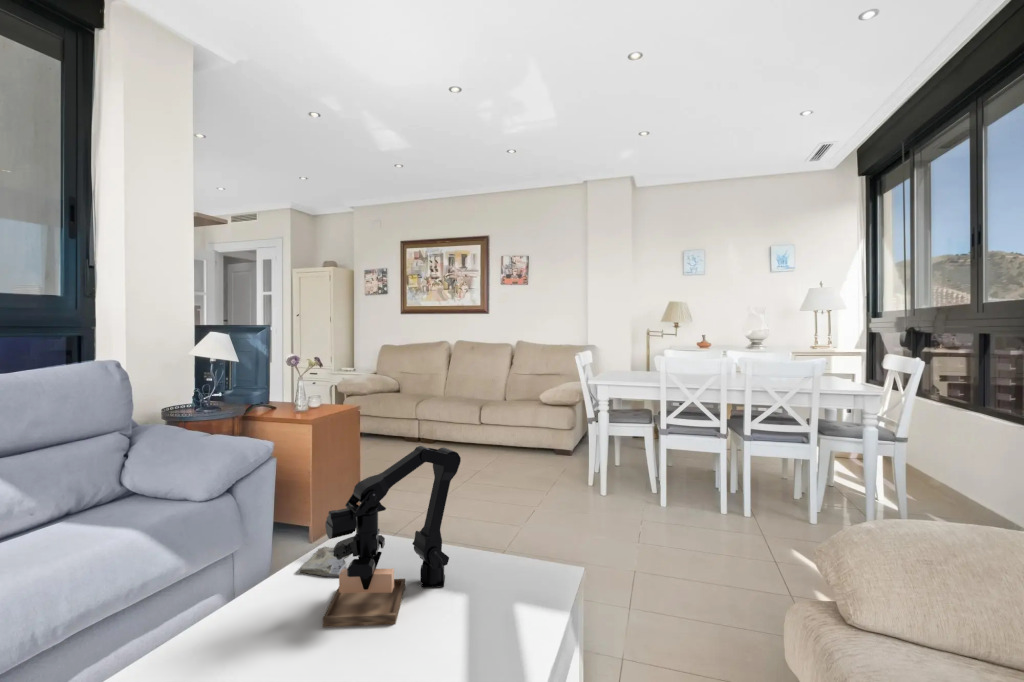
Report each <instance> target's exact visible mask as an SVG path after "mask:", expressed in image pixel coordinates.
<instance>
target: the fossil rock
mask: <svg viewBox="0 0 1024 682" xmlns="http://www.w3.org/2000/svg"><path fill="white" fill-rule="evenodd" d="M333 550H334V547H330V546H325V545H324V546H323V547H320V548H317V551H315V553H314V554H313V555H311V557H310V558H309V559H308V560H307V561H305V562H304V563H303V564H301V566H300V568H299V572H301V573H300V574H306V573H308V574H307V575H317V576H321V577H331V578H333V577H334V578H335V577H336V578H339V574H340V572H341V571H342V569H347V568H348V567H347V564H346V560H345V558H348V557H349V556H350V555H348V556H346V557H343V558H342V559H340V560H337V558H336V557H334V556H333V554H334V551H333Z"/></svg>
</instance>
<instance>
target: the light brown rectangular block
mask: <svg viewBox="0 0 1024 682" xmlns="http://www.w3.org/2000/svg"><path fill="white" fill-rule="evenodd" d="M394 579H395V568H376V569H375V571H374V574H373V577H372V580H371V582H370V585H369V588H368V589H367V590H364V588H363V585H362V582H361V579H360V577H348V576H347V569H342V571H341V572H340V574H339V577H338V582H339V583H338V587H339V593H392V591H393V588H394Z"/></svg>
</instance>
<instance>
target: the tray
mask: <svg viewBox="0 0 1024 682" xmlns="http://www.w3.org/2000/svg"><path fill="white" fill-rule="evenodd" d="M405 588H406V578H394V588H393V591H392V593H339V586H338V588H337V590H336V591H335V594H333V597H332V599H331V601H330V603H329V605H328V606H327V609H326V611H325V613H324V614H323V617H322V628H331V627H332V628H334V627H336V628H337V627H358V626H381V625H396V623H397V620H398V616H399V612H400V609H401V604H402V600H403V596H404V593H405V590H406V589H405Z"/></svg>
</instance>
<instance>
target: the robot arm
mask: <svg viewBox="0 0 1024 682" xmlns="http://www.w3.org/2000/svg"><path fill="white" fill-rule="evenodd" d="M461 459H462V458H461V456H460V454H459V453H458V452H457V451H455V450H452V449H449V448H447V447H440V448H438V449H437V448H433V447H426V446H424V445H419V446H416V447H415V448H414V450H413V451H411V452H409V453H408V454H407V455H405V456H404V457H402V458H401V459H400V460H398V461H397V462H395V463H394V464H392V465H391V466H389V467H388V468H386V469H385V470H384V471H382V472H380V473H378V474H374V475H372V476H369V477H366V478H363V479H362V480H361V481H359V482H357V483H356V484H355V485H354V489H353V492H352V494H351V495H350V497H349V499H348V500H347V501H346V503H345V507H346V508H341V509H333V510H329V511H328V515H327V517H326V521H325V532H326V535H327V538H328V540H332V539H336V538H339V537H345V536H347V535H352V534H353V533H355V534H354V535H353V536H350V537H348V538H344V539H342V540H340V541H337V542H336V544H335V546H333V548H334V550H333V551H334V554H333V556H334V557H336V558H337V560H340V559H342V558H343V557H346V556H348V555H349V556H351V555H352V557H358V558H354V559H353V560H351V562H350V563H349V565H348V567H346V568H347V576H348V577H360V579H361V582H362V585H363V588H364V590H367V589H368V588H369V585H370V582H371V580H372V577H373V574H374V571H375V569H377V566H378V564H379V561H380V558H381V557H382V556H381V555H382V551H380V549H384V547H385V545H386V541H385V540H386V539H385V537H384V536H383V534H380V532H381V531H380V529H381V528H379V513H380V512H383V511H386V510H387V508H386V507H385V506H384V505H383V504H382V503H381V500H383V499H384V498H385V497H386V496H387V493H388V492H389V490H390V489H391V488H392V487H393V486H394V485H396V484H397V483H399V482H400V481H402V480H403V479H404V478H406V477H407V476H408V475H410V474H411V473H412V472H414V471H415V470H416V469H418V468H419V467H421V466H423V464H425V463H429V464H432V470H433V475H434V479H433V483H432V489H431V492H430V498H429V502H428V507H427V511H426V515H425V516H426V517H425V519H424V520H425V521H424V525H423V527H422V528H421V529H420V530H415V533H414V540H413V541H412V543H411V544H412V545H413V550H414V553H416V555H418V557H419V558H420V559H421V560H422V564H421V565H420V570H419V571H420V575H419V576H420V577H419V580H420V581H419V582H420V583H421V588H422V589H424V588H427V589H428V588H443V587H445V581H446V580H445V579H446V574H445V566H448V563H449V560H450V557H449V556H448V555H447V554H446V553H445V552H443V551H442V550H443V549H442V548H443V538H442V533H441V532H442V531H441V528H442V522H443V517H444V514H445V509H446V504H447V498H448V493H449V490H450V485H451V481H452V479H454V477H455V475H456V474H457V473H458V471H459V467H460V465H461V462H462V460H461ZM358 503H360V504H358ZM349 556H348V557H349ZM346 558H347V557H346Z"/></svg>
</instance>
